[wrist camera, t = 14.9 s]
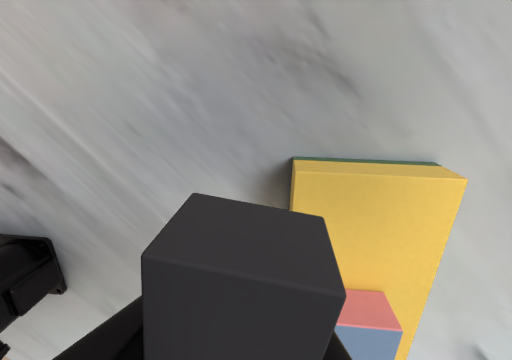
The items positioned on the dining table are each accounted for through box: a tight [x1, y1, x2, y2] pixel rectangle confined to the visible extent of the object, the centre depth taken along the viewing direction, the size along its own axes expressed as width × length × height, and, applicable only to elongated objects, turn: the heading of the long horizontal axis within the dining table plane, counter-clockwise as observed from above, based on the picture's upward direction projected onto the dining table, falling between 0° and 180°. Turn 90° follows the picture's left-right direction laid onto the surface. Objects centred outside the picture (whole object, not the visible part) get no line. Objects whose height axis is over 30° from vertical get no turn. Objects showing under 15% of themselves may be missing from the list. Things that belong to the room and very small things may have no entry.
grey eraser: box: [141, 193, 347, 360], centre depth 7 cm, size 6×4×3 cm
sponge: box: [289, 157, 468, 360], centre depth 19 cm, size 16×10×3 cm, turn 179°
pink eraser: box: [334, 289, 403, 360], centre depth 18 cm, size 6×4×3 cm, turn 179°
